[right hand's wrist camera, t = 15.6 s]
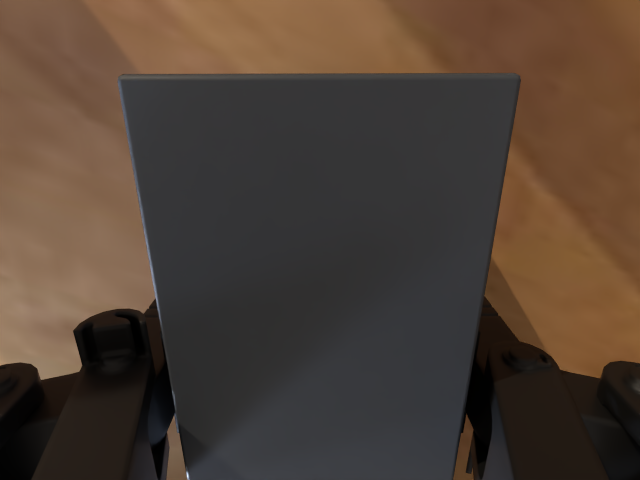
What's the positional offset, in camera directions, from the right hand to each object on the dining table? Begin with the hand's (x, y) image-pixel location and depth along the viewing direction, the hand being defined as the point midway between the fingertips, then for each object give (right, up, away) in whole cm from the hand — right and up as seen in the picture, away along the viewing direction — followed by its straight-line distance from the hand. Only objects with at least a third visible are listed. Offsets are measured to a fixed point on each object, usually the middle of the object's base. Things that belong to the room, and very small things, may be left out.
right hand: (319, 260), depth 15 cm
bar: (0, -19, +8) cm, 20 cm away
